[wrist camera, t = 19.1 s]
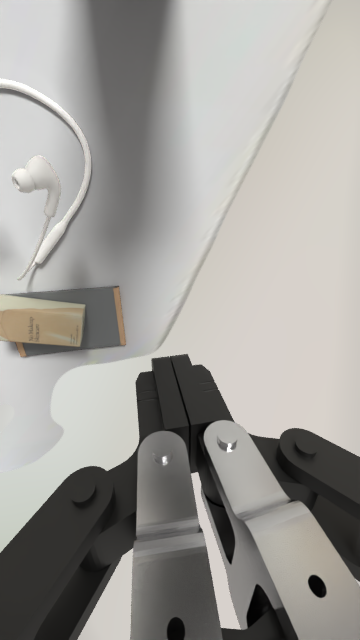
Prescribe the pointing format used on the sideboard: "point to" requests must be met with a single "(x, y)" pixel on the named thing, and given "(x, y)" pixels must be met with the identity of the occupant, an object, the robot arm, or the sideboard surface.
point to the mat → (85, 319)
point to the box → (41, 321)
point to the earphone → (48, 179)
